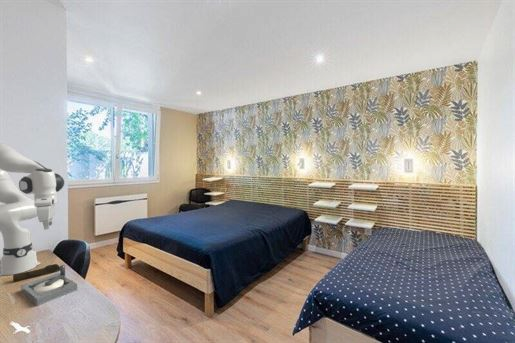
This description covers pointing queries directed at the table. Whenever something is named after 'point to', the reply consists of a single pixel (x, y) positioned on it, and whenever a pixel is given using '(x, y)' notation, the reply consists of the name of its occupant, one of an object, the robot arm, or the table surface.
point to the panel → (49, 295)
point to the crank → (51, 283)
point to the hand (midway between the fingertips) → (48, 227)
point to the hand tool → (37, 272)
